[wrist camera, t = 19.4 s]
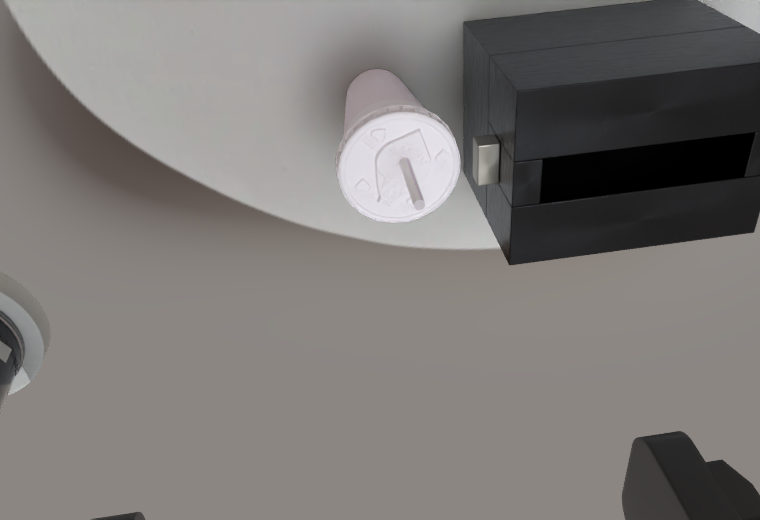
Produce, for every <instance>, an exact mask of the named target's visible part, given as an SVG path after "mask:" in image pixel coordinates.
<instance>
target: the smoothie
mask: <svg viewBox="0 0 760 520" xmlns="http://www.w3.org/2000/svg"><path fill="white" fill-rule="evenodd" d="M459 172H460V154H459V150H458V146H457V144H456V140H455V137H454V136H453V134H452V132H451V130H450V128H449V127H448V125H447V124H446V123H445V122H444V121H443V120H442V119H440V118H439V117H438V116H437V115H436V114H434V113H432V112H430V111H428V110H426V109H425V108H424V107H423V106H422V104H421V103H420V102H419V101H418V100H417V99H416V97H415V96H414V95H413V94H412V93H411V92H410V91H409V89H408V88H407V87H406V86H405V85H404V84H403V83H402V81H401V80H400V79H399V78H398V77H397V76H396V75H395V74H393V73H391V72H389V71H387V70H383V69H372V70H368V71H365V72H363V73H361V74H360V75H358V76H357V77H356V78H355V79H354V80H353V81H352V83H351V84H350V86H349V88H348V91H347V96H346V109H345V122H344V135H343V139H342V141H341V142H340V144H339V148H338V152H337V155H336V175H337V178H338V181H339V184H340V187H341V190H342V192H343V194H344V196H345V198H346V199H347V201H348V202H349V203H350V204H351V206H352V207H353V208H355V209H356V210H357V211H358V212H360V213H361V214H363V215H364V216H366V217H368V218H371V219H373V220H377V221H381V222H387V223H401V222H408V221H412V220H416V219H418V218H421V217H423V216H425V215H427V214H429V213H431V212H432V211H434V210H435V209H436V208H438V207H439V206H440V205H441V204H442V203H443V202H444V201H445V200H446V199H447V198H448V196H449V195H450V194H451V192H452V191H453V189H454V187H455V185H456V183H457V180H458V177H459Z"/></svg>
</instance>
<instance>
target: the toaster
mask: <svg viewBox="0 0 760 520" xmlns="http://www.w3.org/2000/svg"><path fill="white" fill-rule="evenodd" d="M464 173H465V175H466V177H467V180H468V182H469V184H470V186H471V188H472V190H473V192H474V194H475V196H476V198H477V200H478V202H479V204H480V206H481V208H482V210H483V212H484V214H485V217H486V218H487V220H488V222H489V224H490V226H491V229H492V231H493V233H494V235H495V237H496V239H497V241H498V243H499V245H500V247H501V249H502V251H503V253H504V255H505V257H506V259H507V261H508V263H509V265H516V264H523V263H531V262H538V261H545V260H553V259H560V258H568V257H575V256H583V255H590V254H598V253H605V252H612V251H619V250H627V249H635V248H642V247H649V246H657V245H664V244H672V243H679V242H687V241H693V240H701V239H709V238H717V237H723V236H732V235H739V234H746V233H753V232H754V230H755V227H756V224H757V220H758V217H759V213H760V34H759V33H757V32H755V31H754V30H752V29H750V28H748V27H746V26H744V25H743V24H741V23H739V22H737V21H735V20H733V19H731V18H730V17H728V16H726V15H724V14H722V13H720V12H719V11H717V10H715V9H713V8H711V7H709V6H707V5H706V4H704V3H702V2H700V1H698V0H657V1H648V2H639V3H630V4H621V5H612V6H603V7H594V8H585V9H575V10H566V11H557V12H548V13H539V14H530V15H521V16H512V17H503V18H494V19H485V20H476V21H467V22H464Z"/></svg>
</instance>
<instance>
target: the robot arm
mask: <svg viewBox="0 0 760 520" xmlns="http://www.w3.org/2000/svg"><path fill="white" fill-rule="evenodd" d="M24 357H25V343H24V340H23V337H22V335H21V333H20V331H19V329H18V328H17V326H16V325H15V323H14V322H13V321H12V320H11V319H10V318H9V317H8V316H7V315H6V314H4V313H3V312H2V311H1V310H0V413H1V410H2V408H3V405H4V403H5V400H6V398H7V396H8V393H9V391H10V389H11V386H12V384H13V381H14V379H15V377H16V375H17V374H18V372H19V370H20V368H21V366H22V363H23V361H24ZM622 505H623V511H624V515H625V519H626V520H760V495H759V494H758V492H757V491H756V489H755V488H754V486H753V485H752V484H751V483H750V482H749V481H748V480H747V479H745V478H744V477H743V476H741V475H740V474H739V473H738V472H737V471H735V470H734V469H733V468H732V467H730V466H729V465H728V464H727V463H726V462H724V461H723V460H717V461H711V462H705V461H704V459H703V457H702V456H701V454H700V453H699V451H698V450H697V448H696V446H695V445H694V443H693V442H692V440H691V439H690V438H689V437H688V435H686V434H685V433H683V432H681V431H677V432H671V433H664V434H659V435H651V436H645V437H638V438H636V439H635V440H634V442H633V444H632V448H631V453H630V458H629V463H628V468H627V473H626V478H625V482H624V487H623V492H622ZM92 520H145V518H144V516H143V514H142V513H141V512H135V513H129V514H123V515H116V516H109V517H102V518H96V519H92Z"/></svg>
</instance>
